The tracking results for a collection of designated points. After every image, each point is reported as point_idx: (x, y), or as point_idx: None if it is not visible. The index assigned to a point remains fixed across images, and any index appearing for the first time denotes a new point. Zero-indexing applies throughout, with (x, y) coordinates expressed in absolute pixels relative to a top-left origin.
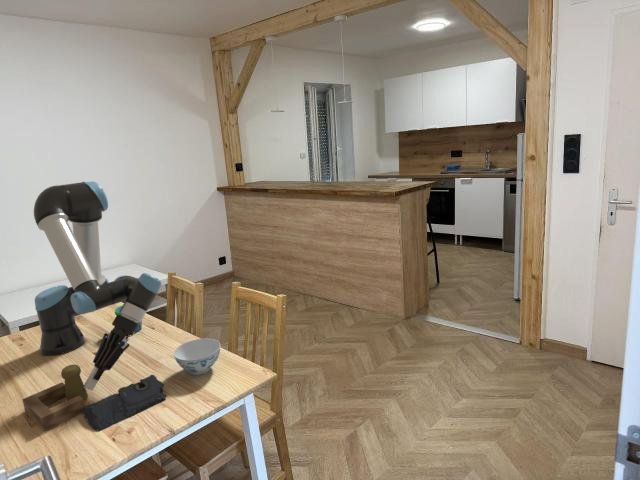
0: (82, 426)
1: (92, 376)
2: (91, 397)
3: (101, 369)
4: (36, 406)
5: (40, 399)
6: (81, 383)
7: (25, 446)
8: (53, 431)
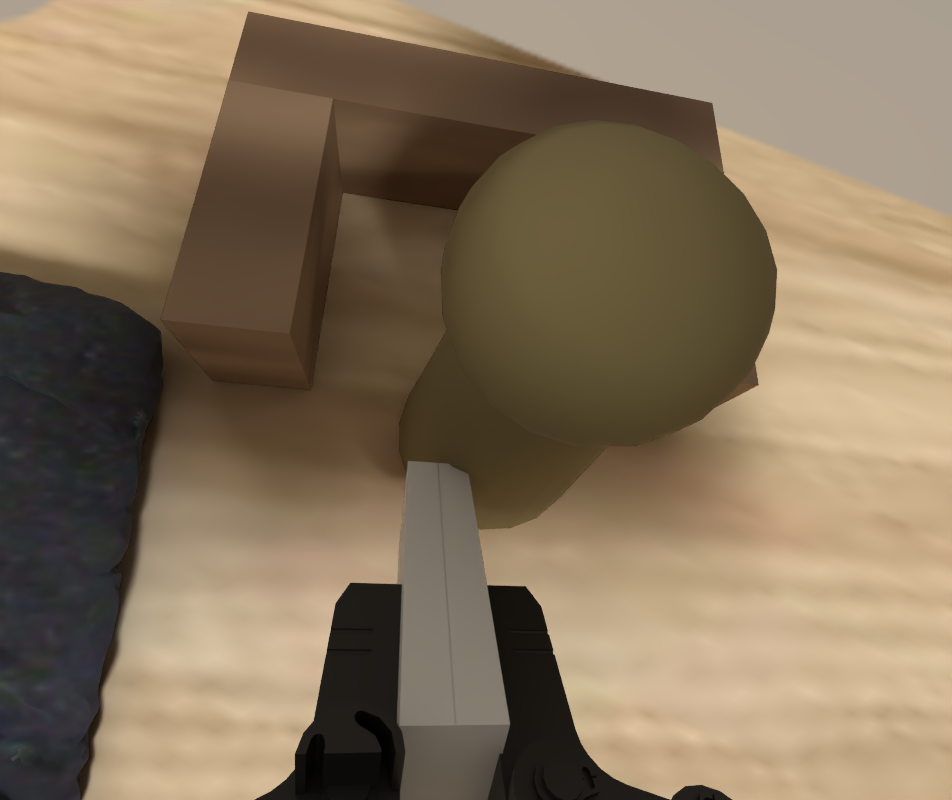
0: (7, 250)
1: (404, 582)
2: (392, 524)
3: (290, 782)
4: (491, 87)
5: None
6: (456, 436)
7: (229, 11)
8: (204, 138)
